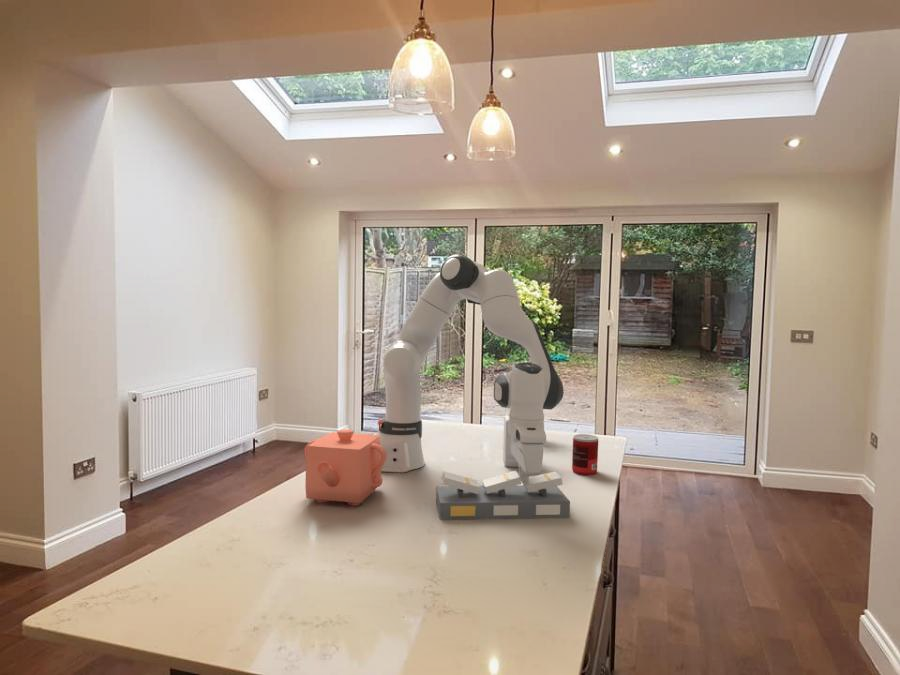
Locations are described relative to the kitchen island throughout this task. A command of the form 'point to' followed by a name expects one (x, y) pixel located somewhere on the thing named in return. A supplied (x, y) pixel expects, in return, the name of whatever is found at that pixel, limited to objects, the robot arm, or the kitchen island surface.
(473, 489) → the rocker
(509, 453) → the supplement box
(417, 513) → the kitchen island surface
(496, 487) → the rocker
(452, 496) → the console
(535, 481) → the block
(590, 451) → the canned food
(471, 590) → the kitchen island surface
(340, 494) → the teapot
